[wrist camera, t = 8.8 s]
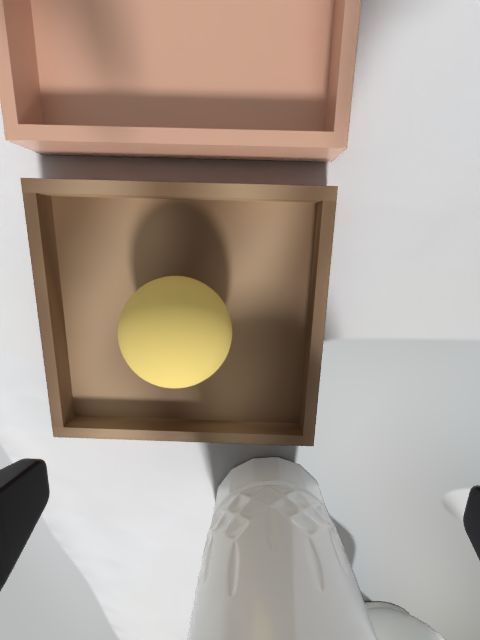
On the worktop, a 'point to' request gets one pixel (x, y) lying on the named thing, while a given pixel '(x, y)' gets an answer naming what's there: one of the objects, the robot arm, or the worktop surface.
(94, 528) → the worktop surface
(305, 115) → the dish
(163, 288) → the ball
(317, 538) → the white cup
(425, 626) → the lidded jar
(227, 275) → the tray
